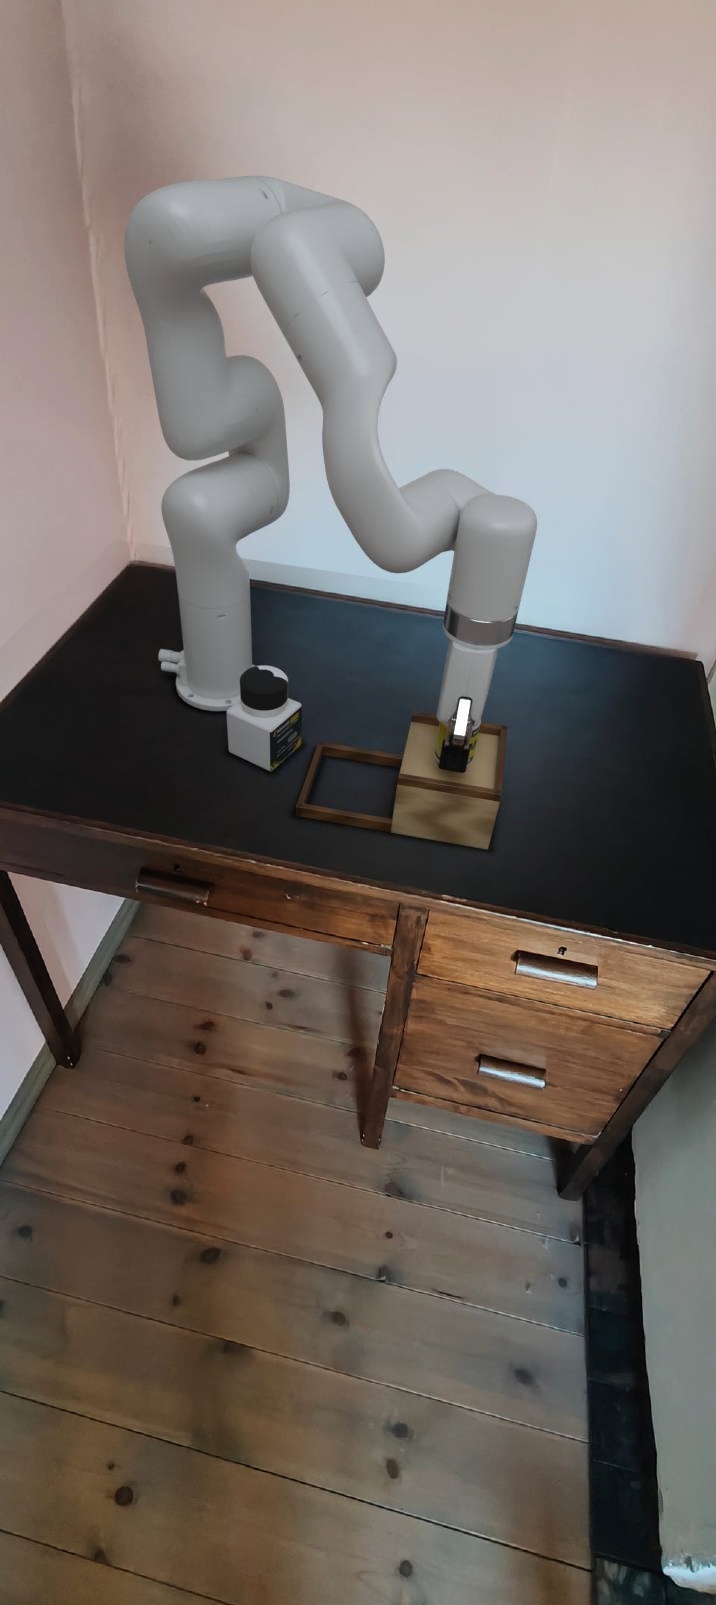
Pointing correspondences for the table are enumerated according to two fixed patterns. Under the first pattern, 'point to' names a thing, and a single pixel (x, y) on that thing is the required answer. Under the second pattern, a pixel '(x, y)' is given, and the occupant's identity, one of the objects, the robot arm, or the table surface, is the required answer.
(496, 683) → the table surface
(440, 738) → the supplement bottle
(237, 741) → the medicine bottle
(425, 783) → the shelf rack
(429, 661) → the table surface
